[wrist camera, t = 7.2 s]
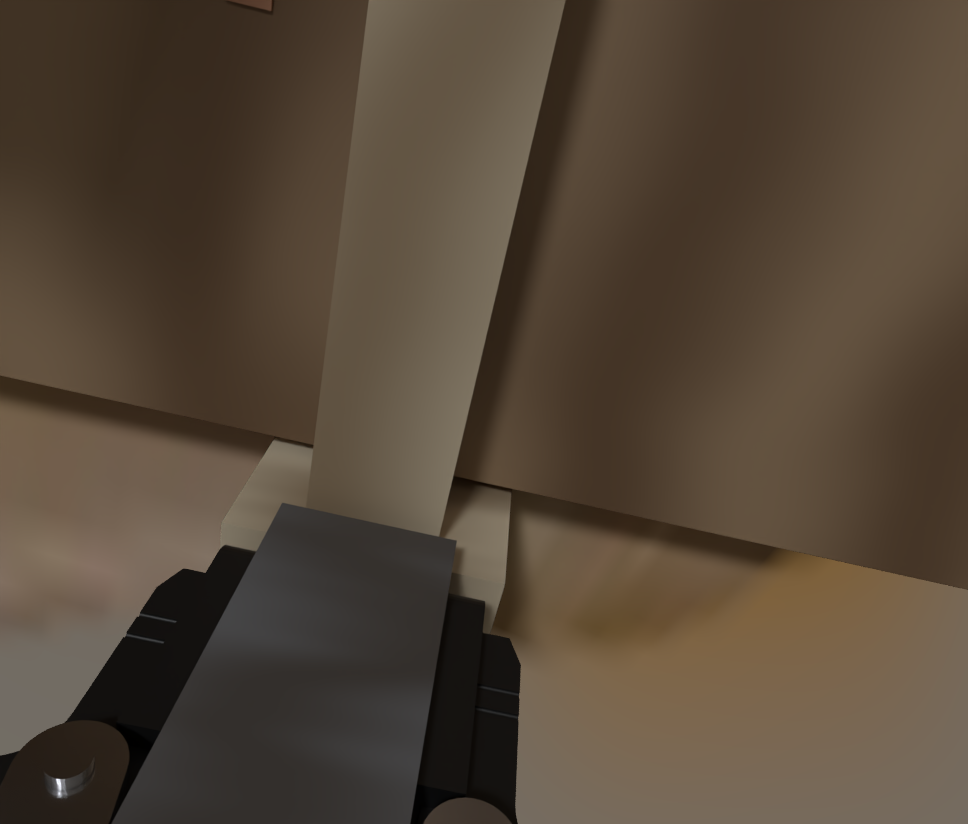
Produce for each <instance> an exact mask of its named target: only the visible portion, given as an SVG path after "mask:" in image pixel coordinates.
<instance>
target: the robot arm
mask: <svg viewBox="0 0 968 824" xmlns="http://www.w3.org/2000/svg"><path fill="white" fill-rule="evenodd" d="M255 553H256V551H253V550H248V549H243V548H239V547H234V546H229V545H224V546H222V547H221V549H220V550H219V552H218V553H217V555H216V557H215V558H214V560H213V562H212V563H211V565H210V567H209V568H208V570H207V572H206V573H203V572H198V571H194V570H189V569H182V570H181V571H179V572H178V573H176V574H175V575H174V576H172V577H171V578H169V579H168V580H166V581H165V582H164V583H162V584H161V585H159V586H158V587H157V588H156V589H155V591H154V592H153V594H152V595H151V597H150V598H149V600H148V601H147V603H146V604H145V606H144V607H143V609H142V610H141V612H140V615H139V617H137V618H136V619H135V621H134V622H133V624H132V625H131V627H130V628H129V630H128V631H127V634H126V637H125V638H124V637H123V639H122V640H121V642H120V643H119V645H118V646H117V647H116V649H115V650H114V652H113V653H112V655H111V657H110V658H109V659H108V661H107V663H106V664H105V666H104V667H103V669H102V670H101V671H100V673H99V675H98V676H97V678H96V679H95V680H94V682H93V683H92V685H91V686H90V688H89V690H88V691H87V692H86V694H85V695H84V697H83V698H82V700H81V701H80V703H79V704H78V706H77V707H76V709H75V710H74V712H73V713H72V715H71V716H70V717H69V718H68V720H67V721H66V722H65V723H63V724H60V725H57V726H55V727H52V728H50V729H47V730H46V731H44V732H42V733H40V734H38V735H37V736H36V737H34V738H33V739H32V740H30V741H29V742H28V743H27V744H26V745H25V746H24V747H23V748H22V749H21V750H20V751H17V752H14V753H10V754H6V755H2V756H0V824H112V822H113V820H114V818H115V816H116V814H117V813H118V811H119V809H120V807H121V805H122V803H123V801H124V799H125V797H126V796H127V794H128V792H129V790H130V788H131V786H132V784H133V782H134V781H135V779H136V777H137V775H138V773H139V771H140V769H141V767H142V766H143V764H144V762H145V760H146V758H147V756H148V754H149V752H150V750H151V749H152V747H153V745H154V743H155V741H156V739H157V737H158V735H159V734H160V732H161V730H162V728H163V726H164V724H165V722H166V720H167V718H168V717H169V715H170V713H171V711H172V709H173V707H174V705H175V703H176V702H177V700H178V698H179V696H180V694H181V692H182V690H183V688H184V687H185V685H186V683H187V681H188V679H189V677H190V675H191V673H192V671H193V670H194V668H195V666H196V664H197V662H198V660H199V658H200V656H201V655H202V653H203V651H204V649H205V647H206V645H207V643H208V641H209V640H210V638H211V636H212V634H213V632H214V630H215V628H216V626H217V624H218V623H219V621H220V619H221V617H222V615H223V613H224V611H225V609H226V608H227V606H228V604H229V602H230V600H231V598H232V596H233V594H234V592H235V591H236V589H237V587H238V585H239V583H240V581H241V579H242V577H243V576H244V574H245V572H246V570H247V568H248V566H249V564H250V562H251V561H252V559H253V557H254V555H255ZM484 614H485V601H483V600H478V599H474V598H469V597H464V596H460V595H455V594H450V593H448V598H447V604H446V610H445V616H444V622H443V628H442V634H441V640H440V646H439V652H438V658H437V665H436V671H435V677H434V683H433V689H432V695H431V701H430V707H429V713H428V719H427V725H426V731H425V737H424V743H423V749H422V756H421V762H420V768H419V774H418V780H417V786H416V792H415V798H414V804H413V810H412V816H411V822H410V824H518V823H517V818H516V812H515V797H516V770H517V745H518V715H519V692H520V668H521V665H520V662H519V660H518V657H517V655H516V653H515V650H514V648H513V646H512V643H511V641H510V638H505V637H500V636H496V635H491V634H486V633H483V624H484Z"/></svg>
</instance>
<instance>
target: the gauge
mask: <svg viewBox="0 0 968 824" xmlns="http://www.w3.org/2000/svg"><path fill="white" fill-rule="evenodd" d="M565 1H566V0H369V3H368V11H367V19H366V27H365V35H364V43H363V51H362V59H361V67H360V75H359V83H358V91H357V99H356V108H355V116H354V124H353V132H352V140H351V148H350V156H349V164H348V172H347V180H346V188H345V196H344V204H343V212H342V221H341V229H340V237H339V245H338V253H337V261H336V269H335V277H334V285H333V293H332V301H331V309H330V317H329V325H328V334H327V342H326V350H325V358H324V366H323V374H322V382H321V390H320V398H319V406H318V414H317V422H316V430H315V438H314V445H312V444H308V443H303V442H298V441H294V440H289V439H285V438H280V437H275V438H274V440H273V442H272V443H271V445H270V446H269V448H268V449H267V451H266V453H265V454H264V456H263V457H262V459H261V461H260V462H259V464H258V465H257V467H256V469H255V470H254V472H253V473H252V475H251V476H250V478H249V480H248V481H247V483H246V484H245V486H244V488H243V489H242V491H241V492H240V494H239V496H238V497H237V499H236V500H235V502H234V503H233V505H232V507H231V508H230V510H229V511H228V513H227V515H226V516H225V518H224V519H223V521H222V523H221V540H220V549H221V547H222V546H224V545H229V546H234V547H239V548H243V549H248V550H253V551H256V553H255V555H254V557H253V559H252V561H251V562H250V564H249V566H248V568H247V570H246V572H245V574H244V576H243V577H242V579H241V581H240V583H239V585H238V587H237V589H236V591H235V592H234V594H233V596H232V598H231V600H230V602H229V604H228V606H227V608H226V609H225V611H224V613H223V615H222V617H221V619H220V621H219V623H218V624H217V626H216V628H215V630H214V632H213V634H212V636H211V638H210V640H209V641H208V643H207V645H206V647H205V649H204V651H203V653H202V655H201V656H200V658H199V660H198V662H197V664H196V666H195V668H194V670H193V671H192V673H191V675H190V677H189V679H188V681H187V683H186V685H185V687H184V688H183V690H182V692H181V694H180V696H179V698H178V700H177V702H176V703H175V705H174V707H173V709H172V711H171V713H170V715H169V717H168V718H167V720H166V722H165V724H164V726H163V728H162V730H161V732H160V734H159V735H158V737H157V739H156V741H155V743H154V745H153V747H152V749H151V750H150V752H149V754H148V756H147V758H146V760H145V762H144V764H143V766H142V767H141V769H140V771H139V773H138V775H137V777H136V779H135V781H134V782H133V784H132V786H131V788H130V790H129V792H128V794H127V796H126V797H125V799H124V801H123V803H122V805H121V807H120V809H119V811H118V813H117V814H116V816H115V818H114V820H113V822H112V824H410V822H411V816H412V810H413V804H414V798H415V792H416V786H417V780H418V774H419V768H420V762H421V756H422V749H423V743H424V737H425V731H426V725H427V719H428V713H429V707H430V701H431V695H432V689H433V683H434V677H435V671H436V665H437V658H438V652H439V646H440V640H441V634H442V628H443V622H444V616H445V610H446V604H447V598H448V593H450V594H455V595H460V596H464V597H469V598H474V599H478V600H483V601H485V614H484V624H483V633H486V634H490V632H491V629H492V626H493V622H494V619H495V616H496V612H497V609H498V606H499V602H500V599H501V596H502V593H503V589H504V586H505V578H506V564H507V549H508V535H509V520H510V505H511V491H512V489H511V488H506V487H502V486H497V485H493V484H488V483H484V482H479V481H475V480H470V479H466V478H461V477H457V476H453V475H454V471H455V467H456V462H457V458H458V454H459V450H460V446H461V441H462V437H463V433H464V429H465V424H466V420H467V416H468V412H469V407H470V403H471V399H472V395H473V390H474V386H475V382H476V378H477V374H478V369H479V365H480V361H481V357H482V352H483V348H484V344H485V340H486V335H487V331H488V327H489V323H490V318H491V314H492V310H493V306H494V301H495V297H496V293H497V289H498V285H499V280H500V276H501V272H502V268H503V263H504V259H505V255H506V251H507V246H508V242H509V238H510V234H511V229H512V225H513V221H514V217H515V213H516V208H517V204H518V200H519V196H520V191H521V187H522V183H523V179H524V174H525V170H526V166H527V162H528V157H529V153H530V149H531V145H532V140H533V136H534V132H535V128H536V124H537V119H538V115H539V111H540V107H541V102H542V98H543V94H544V90H545V85H546V81H547V77H548V73H549V68H550V64H551V60H552V56H553V52H554V47H555V43H556V39H557V35H558V30H559V26H560V22H561V18H562V13H563V9H564V5H565Z"/></svg>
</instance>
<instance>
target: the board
mask: <svg viewBox="0 0 968 824" xmlns="http://www.w3.org/2000/svg"><path fill="white" fill-rule="evenodd" d="M368 3H369V0H0V376H5V377H9V378H14V379H18V380H23V381H27V382H32V383H36V384H41V385H45V386H50V387H55V388H59V389H64V390H68V391H73V392H77V393H82V394H86V395H91V396H95V397H100V398H104V399H109V400H113V401H118V402H122V403H127V404H131V405H136V406H140V407H145V408H149V409H154V410H158V411H163V412H167V413H172V414H176V415H181V416H186V417H190V418H195V419H199V420H204V421H208V422H213V423H217V424H222V425H226V426H231V427H235V428H240V429H244V430H249V431H253V432H258V433H262V434H267V435H271V436H276V437H280V438H285V439H289V440H294V441H298V442H303V443H308V444H312V445H314V438H315V430H316V422H317V414H318V406H319V398H320V390H321V382H322V374H323V366H324V358H325V350H326V342H327V334H328V325H329V317H330V309H331V301H332V293H333V285H334V277H335V269H336V261H337V253H338V245H339V237H340V229H341V221H342V212H343V204H344V196H345V188H346V180H347V172H348V164H349V156H350V148H351V140H352V132H353V124H354V116H355V108H356V99H357V91H358V83H359V75H360V67H361V59H362V51H363V43H364V35H365V27H366V19H367V11H368ZM453 476H457V477H461V478H466V479H470V480H475V481H479V482H484V483H488V484H493V485H497V486H502V487H506V488H511V489H515V490H520V491H524V492H529V493H533V494H538V495H542V496H547V497H551V498H556V499H560V500H565V501H570V502H574V503H579V504H583V505H588V506H592V507H597V508H601V509H606V510H610V511H615V512H619V513H624V514H628V515H633V516H637V517H642V518H646V519H651V520H655V521H660V522H664V523H669V524H673V525H678V526H682V527H687V528H691V529H696V530H701V531H705V532H710V533H714V534H719V535H723V536H728V537H732V538H737V539H741V540H746V541H750V542H755V543H759V544H764V545H768V546H773V547H777V548H782V549H786V550H791V551H795V552H800V553H804V554H809V555H813V556H818V557H822V558H827V559H832V560H836V561H841V562H845V563H850V564H855V565H859V566H863V567H868V568H873V569H877V570H881V571H886V572H891V573H895V574H899V575H904V576H908V577H913V578H917V579H922V580H926V581H931V582H936V583H940V584H945V585H949V586H953V587H958V588H963V589H967V590H968V0H566V1H565V5H564V9H563V13H562V18H561V22H560V26H559V30H558V35H557V39H556V43H555V47H554V52H553V56H552V60H551V64H550V68H549V73H548V77H547V81H546V85H545V90H544V94H543V98H542V102H541V107H540V111H539V115H538V119H537V124H536V128H535V132H534V136H533V140H532V145H531V149H530V153H529V157H528V162H527V166H526V170H525V174H524V179H523V183H522V187H521V191H520V196H519V200H518V204H517V208H516V213H515V217H514V221H513V225H512V229H511V234H510V238H509V242H508V246H507V251H506V255H505V259H504V263H503V268H502V272H501V276H500V280H499V285H498V289H497V293H496V297H495V301H494V306H493V310H492V314H491V318H490V323H489V327H488V331H487V335H486V340H485V344H484V348H483V352H482V357H481V361H480V365H479V369H478V374H477V378H476V382H475V386H474V390H473V395H472V399H471V403H470V407H469V412H468V416H467V420H466V424H465V429H464V433H463V437H462V441H461V446H460V450H459V454H458V458H457V462H456V467H455V471H454V475H453Z"/></svg>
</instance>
